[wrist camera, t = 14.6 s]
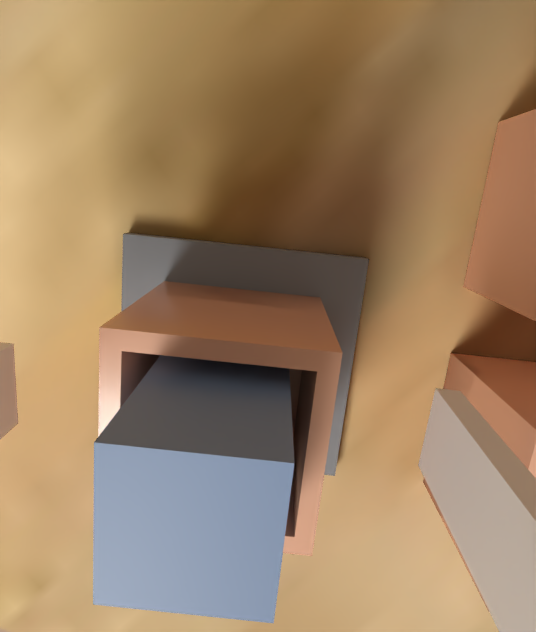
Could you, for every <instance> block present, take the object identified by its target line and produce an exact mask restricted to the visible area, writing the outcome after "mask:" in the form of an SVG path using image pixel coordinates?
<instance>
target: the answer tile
mask: <svg viewBox="0 0 536 632" xmlns="http://www.w3.org/2000/svg"><path fill="white" fill-rule="evenodd" d="M368 263H369V259H367V258H364V257H354V256H345V255H335V254H326V253H316V252H307V251H297V250H288V249H278V248H269V247H259V246H250V245H240V244H231V243H221V242H212V241H202V240H193V239H183V238H174V237H164V236H155V235H145V234H136V233H124V234H123V267H122V311H123V310H124V309H126V308H127V307H129V306H130V305H131V304H133V303H134V302H136V301H137V300H138V299H140V298H141V297H143V296H144V295H145V294H147V293H148V292H150V291H151V290H152V289H154V288H155V287H157V286H158V285H159V284H161V283H162V282H164V281H168V282H178V283H187V284H197V285H206V286H216V287H225V288H235V289H244V290H254V291H264V292H273V293H283V294H292V295H302V296H311V297H320V298H321V301H322V303H323V306H324V308H325V311H326V313H327V316H328V318H329V320H330V323H331V325H332V328H333V330H334V333H335V335H336V338H337V340H338V343H339V345H340V348H341V350H342V353H343V354H342V360H341V367H340V373H339V380H338V387H337V393H336V400H335V407H334V413H333V420H332V426H331V433H330V440H329V446H328V453H327V460H326V466H325V473H324V475H333V476H335V471H336V465H337V459H338V452H339V446H340V440H341V433H342V427H343V421H344V415H345V408H346V402H347V396H348V389H349V383H350V377H351V370H352V364H353V358H354V351H355V345H356V339H357V332H358V326H359V320H360V313H361V307H362V301H363V294H364V288H365V282H366V275H367V269H368Z"/></svg>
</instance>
